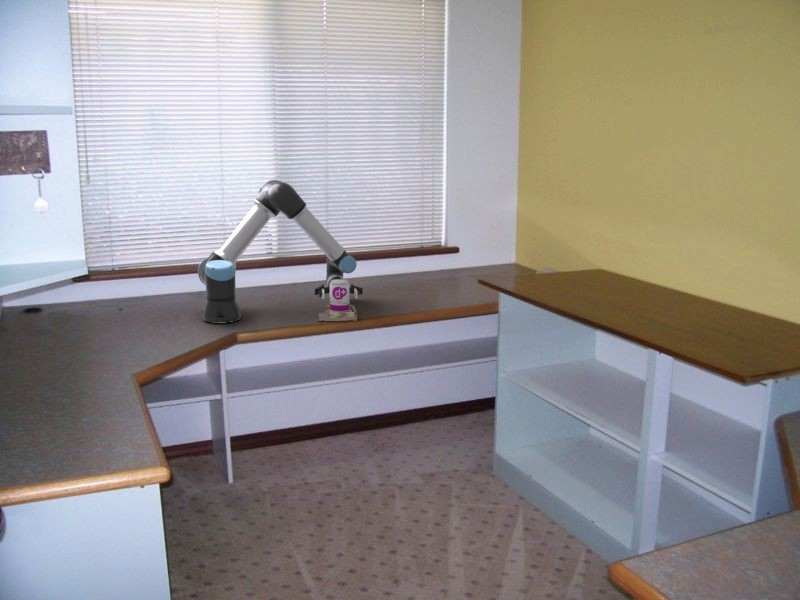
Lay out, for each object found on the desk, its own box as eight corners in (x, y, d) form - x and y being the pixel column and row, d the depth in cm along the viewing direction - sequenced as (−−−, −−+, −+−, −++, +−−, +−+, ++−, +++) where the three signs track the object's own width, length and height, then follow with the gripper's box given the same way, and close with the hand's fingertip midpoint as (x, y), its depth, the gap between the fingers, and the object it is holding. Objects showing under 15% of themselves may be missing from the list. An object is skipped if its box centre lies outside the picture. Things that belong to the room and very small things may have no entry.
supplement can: (348, 318, 311) (348, 283, 308) (328, 318, 311) (328, 282, 308) (350, 313, 319) (350, 279, 316) (330, 313, 319) (330, 278, 316)
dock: (318, 322, 307) (318, 313, 306) (317, 312, 321) (317, 305, 320) (358, 321, 309) (358, 313, 308) (354, 312, 324) (354, 304, 323)
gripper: (364, 292, 333) (370, 304, 313) (307, 293, 329) (309, 305, 309) (364, 276, 331) (370, 286, 311) (307, 276, 328) (309, 287, 307)
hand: (340, 295), depth 310 cm, fingers open, 13 cm apart
